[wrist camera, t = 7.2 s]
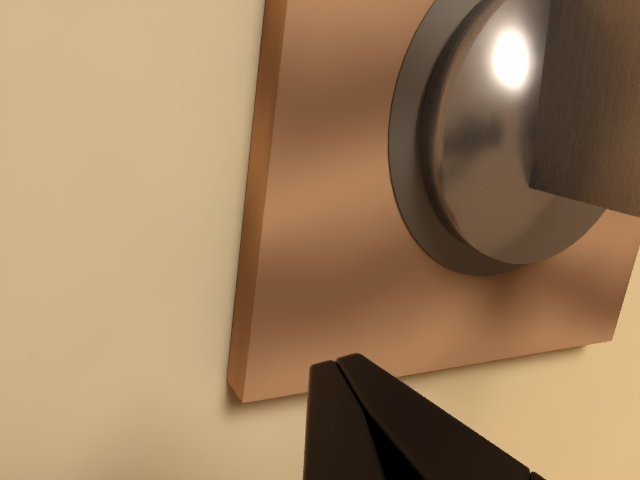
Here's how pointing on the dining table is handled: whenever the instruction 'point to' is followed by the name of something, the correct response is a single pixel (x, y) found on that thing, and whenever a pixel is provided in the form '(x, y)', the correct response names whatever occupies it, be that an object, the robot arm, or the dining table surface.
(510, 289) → the dial plate
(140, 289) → the dining table surface
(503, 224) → the dial knob
